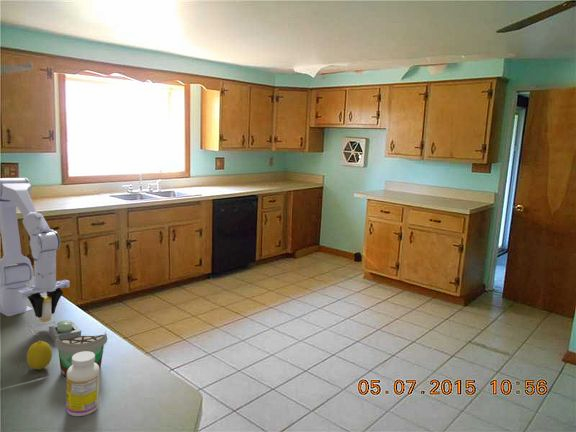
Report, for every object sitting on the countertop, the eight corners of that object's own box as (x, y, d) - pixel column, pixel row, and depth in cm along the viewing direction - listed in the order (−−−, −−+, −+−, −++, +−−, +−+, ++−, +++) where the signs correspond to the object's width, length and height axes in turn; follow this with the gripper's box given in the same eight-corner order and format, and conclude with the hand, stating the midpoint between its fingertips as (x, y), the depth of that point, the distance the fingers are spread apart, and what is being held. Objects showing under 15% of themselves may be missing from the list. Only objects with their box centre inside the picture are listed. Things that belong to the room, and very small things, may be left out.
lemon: (56, 366, 113) (56, 337, 112) (42, 377, 108) (42, 347, 107) (36, 363, 114) (36, 334, 112) (21, 374, 108) (21, 344, 107)
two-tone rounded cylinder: (36, 319, 131) (36, 297, 130) (47, 316, 134) (47, 294, 133) (42, 323, 129) (42, 300, 128) (54, 319, 132) (54, 297, 131)
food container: (54, 386, 105) (54, 347, 103) (54, 373, 110) (54, 336, 108) (108, 377, 111) (109, 341, 109) (106, 365, 116) (107, 331, 114)
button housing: (48, 334, 129) (48, 326, 129) (73, 329, 134) (73, 322, 133) (55, 343, 124) (55, 336, 123) (80, 338, 129) (81, 330, 128)
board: (21, 325, 133) (21, 324, 133) (67, 317, 142) (67, 316, 142) (35, 349, 120) (35, 348, 120) (84, 339, 129) (85, 337, 129)
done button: (55, 330, 129) (55, 322, 128) (70, 327, 131) (70, 319, 131) (59, 335, 126) (59, 327, 125) (74, 332, 128) (74, 324, 128)
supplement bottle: (73, 399, 101) (74, 347, 98) (102, 400, 101) (104, 349, 99) (60, 417, 94) (61, 362, 92) (92, 418, 95) (93, 364, 93)
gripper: (28, 280, 121) (28, 325, 123) (75, 269, 133) (75, 311, 136) (14, 274, 124) (14, 318, 127) (62, 264, 137) (61, 305, 139)
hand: (45, 314), depth 131 cm, fingers closed on two-tone rounded cylinder, 3 cm apart
